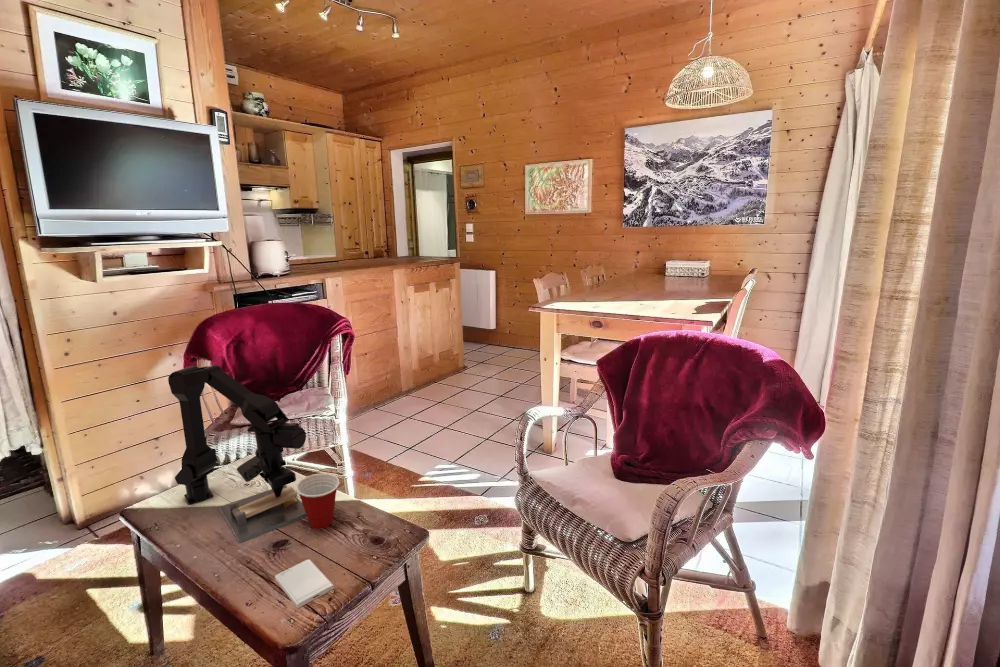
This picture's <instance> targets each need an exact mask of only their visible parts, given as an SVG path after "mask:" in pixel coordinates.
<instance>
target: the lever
mask: <svg viewBox="0 0 1000 667" xmlns="http://www.w3.org/2000/svg"><path fill="white" fill-rule="evenodd" d="M295 497H297V498H298V492H297V491H296V489H294V488H293V487H292V485H289V486H287V488H284V489H282V492H281V495H280V496H279V497H276V496H275V494H274V493H272V494H270V495H267V496H265V497H263V498H260V499H258V500H255V501H253V502H250V503H248V504H246V505H243V506H241V507H238V508H234V509H233V510H232V513H233V515H234V516H235V518H236V514H237V513H240V512H242V511H244V512H245V515H246V518H248V517H251V516H253V515H255V514H257V513H260V512H262V511H264V510H267V509H269V508H271V507H274V506H276V505H278V504H281V503H283V502H285V501H288V500H290V499H292V498H295ZM236 520H237V519H236Z"/></svg>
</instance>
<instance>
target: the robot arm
mask: <svg viewBox="0 0 1000 667" xmlns="http://www.w3.org/2000/svg"><path fill="white" fill-rule="evenodd" d="M167 382H168V384H169V388H170V392H171V394H172V395H173V396H174V397H175V399H177V400H178V401H179V408H180V409H179V410H180V415H181V420H182V427H183V434H184V441H185V450H184V453H183V454H182V456H181V469H180V470H179V472H178V473H177V474H176V475H175V476H174V480H175V482H176V484H177V485H183V486H185V487H184V488H185V494H184V495H183V496H184V499H185V501H186V503H187V505H193V504H195V503H199V502H201V501H205V500H207V499H211V498H213V497H214V493H213V492H212V490H211V489H210V487H209V480H208V475H210V474H211V473H213V472H214V469H215V467H216V465H217V462H218V461H219V460H218V458H217V450H216V449H215V448H211V447H210V446H209V445H208V444H207V440H206V432H205V431H206V430H205V427H204V426H205V425H204V418H203V411H202V410H203V409H202V403H201V396H202V393H203V391H204V389H205V384H207V385H208V386H210V387H211V388H212V389H214V390H216V391H217V392H218V393H219V394H221V395H222V396H224V397H225V398H226V399H228V400H229V401H230V402H232V403H233V404H234V405H236V406H237V407H238V408H239V409H240V411H241V414H242V416H243V418H245V420H247V421H248V422H249V423H250V424H251V425H250V426H249V427H248V428H247V432H248V433H249V432H250V433H254V436H255V441H256V447H257V448H256V449H255V453H254V454H255V455H254V456H253V457H252V458H250V459H248V460H246V461H245V462H243V463H241V464H240V465H239V466H238V467H236V471H237V472H238V474H239V475H240V477H241V478H242V479H243V480H244V481H245V483H248V482H250V481H252V480H254V479H255V478H257V477H258V476H260V477H261V478H262V479H263V481H265V483H267V484H268V486H270V489H272V490H273V492H274V494H275V496H276V497H279V496H280V495H281V492H282V489H283V486H284V485H286V486H287V485H290V484H291V483H294V482H296V481H297V475H296V473H295V472H294V471H293V470H292V469H291V468H289V467H285V466H286V464H287V463H286V460H284V458H283V457H284V456H283V453H284V449H295V450H299V449H301V448H303V446H304V444H305V442H306V438H307V433H306V431H305V429H304V428H303V427H300V424H299V423H298V422H293V423H291V422H289V421H290V419H289V418H288V416H287V414H286V413H284V411H283V410H282V409H281V408H280V406H279V404H278V403H277V402H276V400H274V399H272V398H270V397H268V396H266V395H263V394H258V393H255V392H252V391H251V390H250V389H249V388H247V387H245V386H244V385H243V384H241V383H240V382H239V381H237V380H236V379H234V378H233V377H231V375H229V374H227V373H226V372H225V371H223V369H222V367H220V366H219V365H217V364H216V365H206V366H201V367H198V366H196V365H191V366H190V365H189V366H186V367H183V368H182V369H178V370H175V371H173V372H171V374H170V375H169V376H168V379H167ZM272 420H273V421H272ZM270 421H272V422H270ZM269 422H270V423H269ZM288 422H289V423H288Z"/></svg>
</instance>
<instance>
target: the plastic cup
mask: <svg viewBox="0 0 1000 667" xmlns="http://www.w3.org/2000/svg"><path fill="white" fill-rule="evenodd" d="M339 485H340V479H339V478H338V477H337V476H336V475H334V474H332V473H331V474H330V473H325V472H324V473H322V472H321V473H316V474H315V473H313V474H310V475H308V476H305V477H304V478H302V479H300V480H299V481H298V482H297V484H296V485H295V491H296V492H297V494H298V495H299V497H300V500H301V503H302V504H303V506H304V510H305V513H306V516H307V517H306V518H307V520H308V523H309V526H310V527H311V529H314V530H323V529H326V528H328V527H329V525H330V524H331V523H333V522H332V521H334V515H335V514H334V512H335V505H336V496H337V495H336V494H337V491H338V488H339ZM331 525H332V524H331ZM331 525H330V526H331Z"/></svg>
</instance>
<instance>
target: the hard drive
mask: <svg viewBox="0 0 1000 667" xmlns="http://www.w3.org/2000/svg"><path fill="white" fill-rule="evenodd" d="M274 580H275V581H276V583H277V584H278V585H279V586H280V588H281V589H282V591H283V592H284V593H285V595H286V596H288V598H289V600H290V601H291V602H292V603H293V605H294V606H295V607H296V608H297V609H299V608H301V607H303V606H304V605H307V604H309V603H310V602H313V601H314V600H316V599H318V598H320V597H321V596H323V595H325V594H327V593H329V592H331V591H332V590H335V585H334V584H333V582H331V581H330V580H329V578H327V576H326V575H325V574H324V573H323V572H322V571H321V570H320V569H319V567H317V565H315V563H314V562H313V561H312V560H311V559H305V560H303V561H301V562H300V563H298V564H295V565H293V566H291V567H290V568H287V569H286V570H283V571H281V572H279V573H277V574H276V575H274Z"/></svg>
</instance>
